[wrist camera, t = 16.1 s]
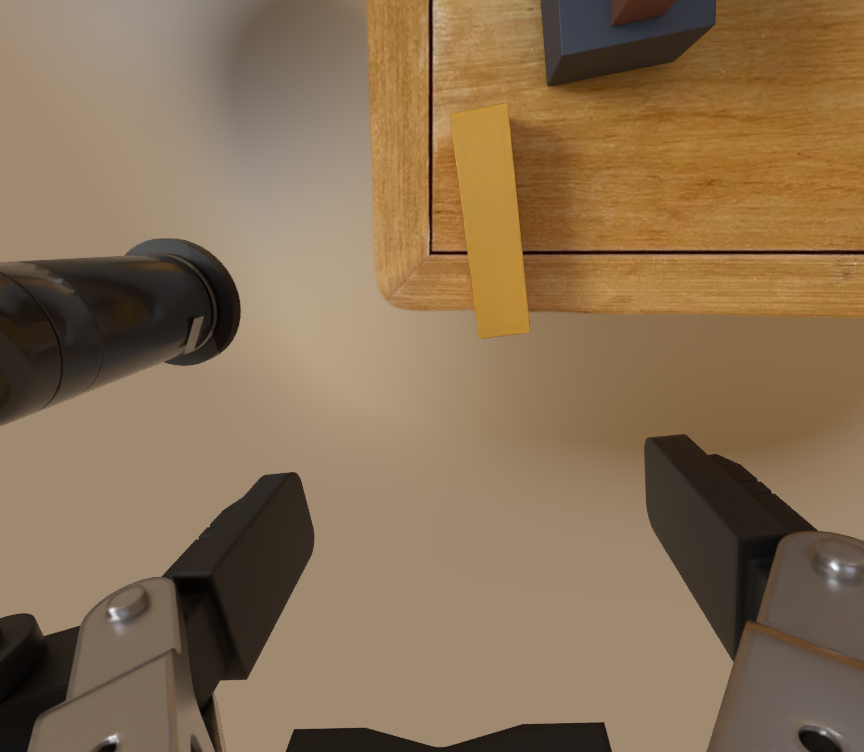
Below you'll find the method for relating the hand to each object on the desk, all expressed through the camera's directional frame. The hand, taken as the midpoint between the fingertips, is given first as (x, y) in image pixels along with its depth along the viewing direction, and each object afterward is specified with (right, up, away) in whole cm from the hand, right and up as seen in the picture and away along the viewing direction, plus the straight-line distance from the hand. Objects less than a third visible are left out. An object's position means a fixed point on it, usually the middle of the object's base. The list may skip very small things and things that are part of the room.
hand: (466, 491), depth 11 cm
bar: (+4, +15, +27) cm, 31 cm away
